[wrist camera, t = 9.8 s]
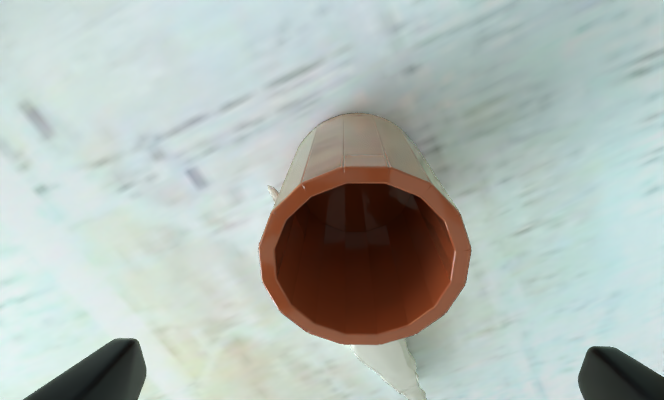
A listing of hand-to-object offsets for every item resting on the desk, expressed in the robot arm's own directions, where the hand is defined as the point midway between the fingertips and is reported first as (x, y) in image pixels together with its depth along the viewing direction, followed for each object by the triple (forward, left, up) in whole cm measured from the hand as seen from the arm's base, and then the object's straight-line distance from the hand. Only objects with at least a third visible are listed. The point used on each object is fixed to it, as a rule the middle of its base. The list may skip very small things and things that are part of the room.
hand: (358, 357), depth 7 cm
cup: (0, 0, -10) cm, 10 cm away
